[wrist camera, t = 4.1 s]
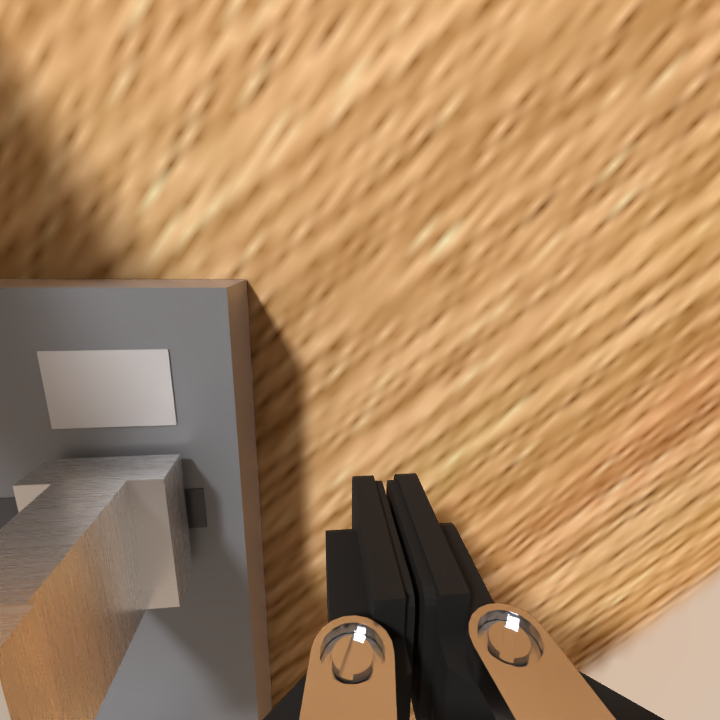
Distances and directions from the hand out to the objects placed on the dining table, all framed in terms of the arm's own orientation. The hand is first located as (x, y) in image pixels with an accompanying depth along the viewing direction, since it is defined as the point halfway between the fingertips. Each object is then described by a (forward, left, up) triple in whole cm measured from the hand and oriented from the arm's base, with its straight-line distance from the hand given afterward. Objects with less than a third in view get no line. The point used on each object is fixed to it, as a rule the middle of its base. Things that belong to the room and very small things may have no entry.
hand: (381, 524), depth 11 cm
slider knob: (+7, 0, -1) cm, 7 cm away
